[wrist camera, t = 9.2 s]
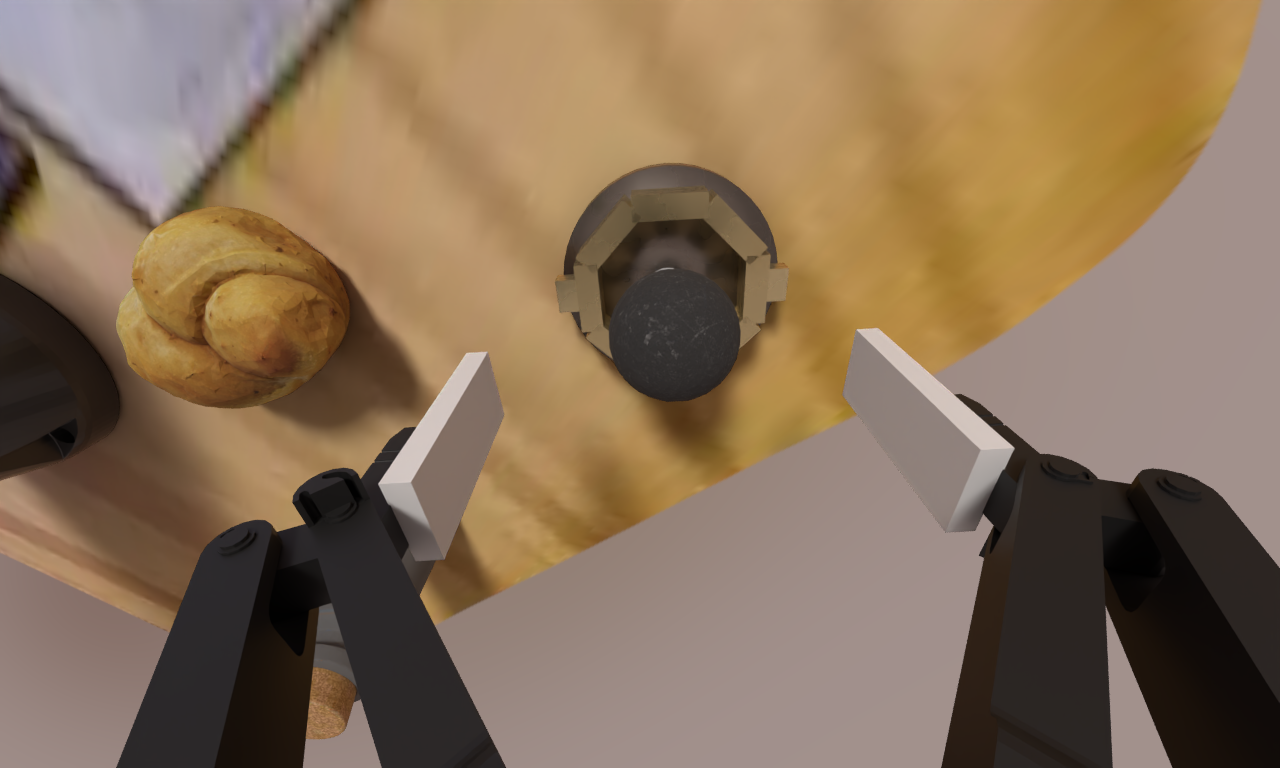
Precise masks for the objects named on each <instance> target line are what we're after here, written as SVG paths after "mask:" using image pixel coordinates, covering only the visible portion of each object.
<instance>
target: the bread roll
mask: <svg viewBox="0 0 1280 768" xmlns="http://www.w3.org/2000/svg"><path fill="white" fill-rule="evenodd" d="M132 278H133V287H132V288H131V290H130V291H129V292H128V294H127V295H126V296H125V298H124V299H123V301H122V303H121V304H120V307H119V312H118V317H117V321H116V329H117V332H118V335H119V337H120V339H121V342H122V344H123V347H124V350H125V353H126V357H127V361H128V364H129V366H130V367H131V368H132V369H133V370H134V371H135V372H136V373H137V374H138V375H140V376H141V377H142V378H144V379H145V380H147V381H149V382H150V383H152V384H154V385H155V386H157V387H159V388H161V389H163V390H165V391H167V392H168V393H170V394H172V395H173V396H176V397H180V398H182V399H184V400H187V401H189V402H192V403H195V404H198V405H202V406H207V407H217V408H246V407H252V406H258V405H261V404H265V403H267V402H270V401H272V400H275V399H278V398H281V397H283V396H286V395H288V394H290V393H292V392H293V391H295V390H296V389H298V388H299V387H300V386H301V385H303V383H305V382H307V381H308V380H310V379H311V378H312V377H313V376H314V375H315V374H316V373H317V372H318V371H320V370H321V369H322V368H323V366H324V365H325V364H326V362H327V361H328V359H329V358H330V357H331V356H332V355H333V354H334V352H335V351H336V350H337V348H338V347H339V346H340V344H341V342H342V340H343V338H344V336H345V333H346V331H347V328H348V323H349V318H350V302H349V300H348V296H347V294H346V291H345V289H344V286H343V284H342V281H341V280H340V278H339V276H338V274H337V273H336V271H335V270H334V268H333V267H332V266H331V264H330V263H329V261H328V260H327V259H326V258H325V257H323V256H322V255H321V254H320V253H318V252H317V251H316V250H315V249H313V248H312V247H311V246H310V245H309V244H308V243H307V242H305V241H304V240H302V239H301V238H299V237H298V236H296V235H295V234H294V233H292V232H291V231H290V230H288V229H287V228H285V227H284V226H282V225H281V224H280V223H278V222H277V221H275V220H273V219H271V218H269V217H266V216H264V215H261V214H258V213H255V212H252V211H249V210H245V209H238V208H230V207H222V206H216V207H208V208H203V209H198V210H194V211H192V212H187V213H183V214H181V215H178V216H176V217H175V218H172V219H170V220H168V221H166V222H164V223H162V224H161V225H160V226H158V227H157V228H155V229H154V230H153V231H152V232H151V233H150V234H148V236H147V237H146V238H145V239H144V240H143V242H142V243H141V244H140V247H139V250H138V252H137V254H136V256H135V259H134V263H133V271H132Z"/></svg>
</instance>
